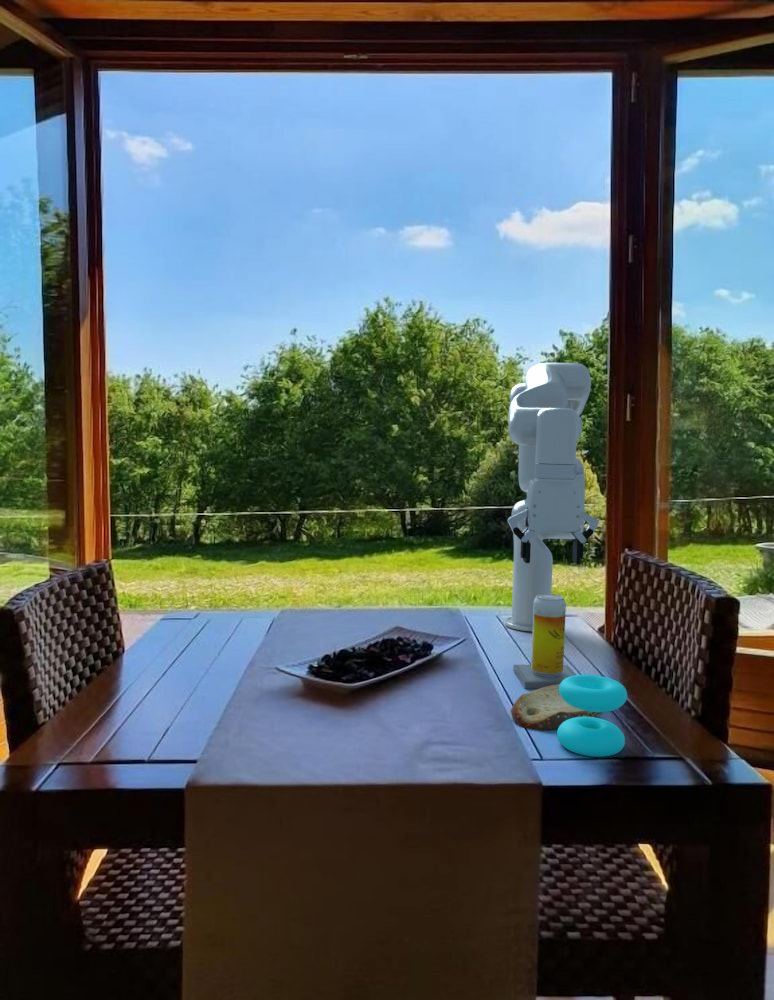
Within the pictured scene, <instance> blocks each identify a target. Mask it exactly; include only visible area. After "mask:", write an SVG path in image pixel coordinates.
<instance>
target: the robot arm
mask: <svg viewBox="0 0 774 1000" xmlns="http://www.w3.org/2000/svg"><path fill="white" fill-rule="evenodd" d="M591 386H592V378H591V374H590V371H589V369H588V368H587V367H586V366H585V365H584V364H582V363H579V362H540V363H536V364H534V365H532V367H530V368H529V369H528V371H527V372H526V375H525V379H524V382H522V383H519V384H518V383H517V384H516V385H515V386H513V387H512V388H511V390H510V394H509V395H510V396H509V407H508V415H507V420H508V421H507V422H508V435H509V437H510V439H511V441H512V442H513V443H514V444H516V445H518V484H519V488H520V489H521V491H522V492H524V493H526V494H527V495H526V498H525V499H522V500H519V501H517V502H516V503H514V505H513V507H512V510H511V516H509V517H508V518H507V523H508V525H509V527H510V529H511V531H512V534H513V535H512V537H513V567H512V593H511V594H512V595H511V596H512V597H511V598H512V599H511V601H512V602H511V616H509V617H507V618H505V622H504V624H505V626H507V627H508V628H510V629H514V630H516V631H523V632H530V633H531V632H532V631H533V604H534V600H535V598H536V595H538V594H553V593H552V589H553V569H554V568H553V567H554V566H553V565H554V563H553V562H554V560H553V559H554V558H553V553H552V551H550V548H548V546H547V545H546V543H544V541H543V540H550V539H551V540H552V539H555V540H556V539H557V540H574V541H573V542H572V556H571V557H572V559H571V560H572V562H573V563H575V564H576V565H580V564H581V560H583V559H584V547H585V545H584V544H585V543H586V542H587V540H588V539H589V538H590V537H592V535H593V534H594V532H595V530H596V529H597V527H598V525H599V524H600V523H599V519H597V518H595V517H593V516H592V515H590V514H587V513H586V511H585V504H586V501H585V497H586V496H585V495H586V494H585V493H586V492H585V491H586V490H585V489H586V487H585V486H586V485H585V484H586V483H585V482H586V478H585V477H586V476H585V473H586V472H585V467H584V465H583V462H582V460H581V459H579V458H578V457H577V441H578V440H579V439H580V438H581V437H582V433H583V420H582V419H583V418H582V417H581V416H580V415H582V413H583V411H584V409H585V406H586V403H587V401H588V399H589V395H590V392H591V388H592V387H591ZM585 521H586V522H587V523H588V524H587V527H586V528H585ZM584 528H585V529H584Z"/></svg>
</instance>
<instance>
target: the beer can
mask: <svg viewBox="0 0 774 1000" xmlns="http://www.w3.org/2000/svg"><path fill="white" fill-rule="evenodd" d="M566 606H567V603H566V601H565V597H564V596H562V595H561V594H554V593H552V594H538V595H536V598H535V600H534V604H533V631H532V634H531V635H532V637H531V638H532V639H531V657H530V658H531V659H530V660H531V661H530V663H531V664H530V665H531V668H532V670H533V671H534V673H535V674H537V675H540V676H546V677H555V676H559V675H560V673H561V672H562V671H563V665H564V655H565V635H566V633H565V631H566V610H567V609H566Z"/></svg>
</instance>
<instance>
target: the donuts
mask: <svg viewBox="0 0 774 1000" xmlns="http://www.w3.org/2000/svg"><path fill="white" fill-rule="evenodd" d="M559 693H560V696H561V697H562V699H563V700H564V701H565V702H566V703H568V704H569V705H571V706H573V707H575V708H578V709H581V710H585V711H591V712H601V713H604V712H605V713H607V712H612V711H615V710H617V709H620V708H621V707H622V706H623V705H624V704H625V703H626V702H627V699H628V692H627V689H626V687H625V686H624V685H623V684H622V683H621V682H620V681H618V680H616V679H613V678H610V677H607V676H603V675H602V676H601V675H597V674H596V675H595V674H576V675H574V676H570V677H567V678H565V679H564V680H563V681H562V682H561V683H560V686H559ZM556 736H557V740H558V742H559V743H560V745H561V746H563V747H564V748H565V749H567V750H568V751H570V752H571V753H572V752H573V753H575V754H578V755H581V756H587V757H593V758H594V757H596V758H598V757H599V758H601V757H603V758H604V757H610V756H614V755H616V754H618V753H620V752H621V751H622V750H623V749H624V747H625V744H626V738H625V735H624V733H623V731H622V730H621V729H620V728H619V726H617V725H616V724H614V723H613V722H611V721H609V720H606V719H603V718H599V717H596V718H595V717H575V718H571V719H568V720H566V721H564V722H563V723H562V724H561V725H560V726H559V728H558V729H557V731H556Z"/></svg>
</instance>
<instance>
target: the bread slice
mask: <svg viewBox="0 0 774 1000" xmlns="http://www.w3.org/2000/svg"><path fill="white" fill-rule="evenodd" d="M559 686H560V684H557V685H551V686H547V687H543V688H540V689H534V690H531V691H529V692H526V693H522V694H521V695H520V696H519V697H518V698H517V699H516V700H515V702H514V704H513V705H512V706H511V709H510V714H511V717H512V719H513V721H514V722H515V723H516V724H517V725H518V727H520V728H524V729H528V730H533V731H538V732H539V731H540V732H544V731H550V730H551V731H552V730H558V728H559V726H560V725H561V724H562V723H563V722H564V721H566V720H568V719H571V718H575V717H595V718H597V717H598V716H597V715H599V714H600V715H601V713H602V712H591V711H585V710H581V709H578V708H575V707H573V706H571V705H569V704H568V703H566V702H565V701H564V700H563V699H562V697H561V696H560V693H559ZM600 715H599V716H600ZM596 716H597V717H596Z"/></svg>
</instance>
